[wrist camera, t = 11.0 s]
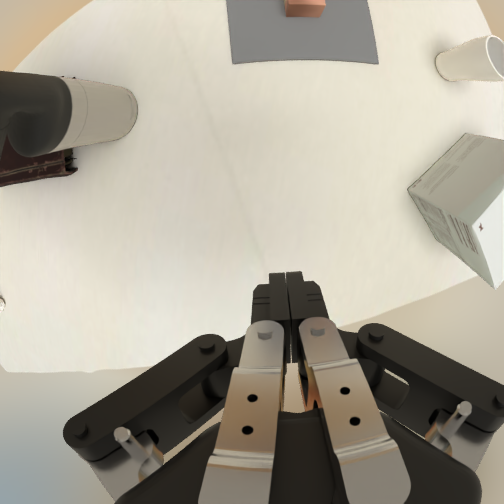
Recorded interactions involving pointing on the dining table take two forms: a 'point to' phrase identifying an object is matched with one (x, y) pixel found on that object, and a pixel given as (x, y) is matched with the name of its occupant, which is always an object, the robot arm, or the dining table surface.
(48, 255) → the dining table surface
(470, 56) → the drinking glass
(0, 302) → the spread jar
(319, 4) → the oak block
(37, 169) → the diary
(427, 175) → the supplement box
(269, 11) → the rubber mat
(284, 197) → the dining table surface
